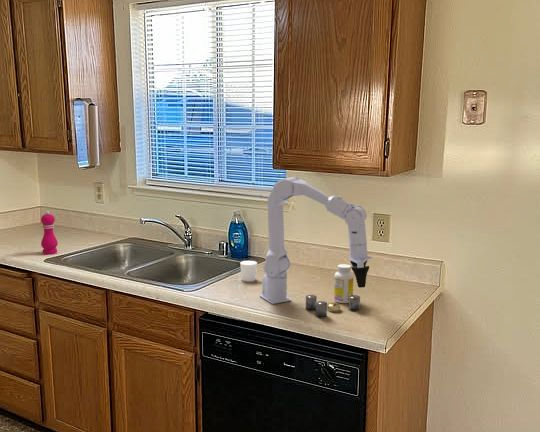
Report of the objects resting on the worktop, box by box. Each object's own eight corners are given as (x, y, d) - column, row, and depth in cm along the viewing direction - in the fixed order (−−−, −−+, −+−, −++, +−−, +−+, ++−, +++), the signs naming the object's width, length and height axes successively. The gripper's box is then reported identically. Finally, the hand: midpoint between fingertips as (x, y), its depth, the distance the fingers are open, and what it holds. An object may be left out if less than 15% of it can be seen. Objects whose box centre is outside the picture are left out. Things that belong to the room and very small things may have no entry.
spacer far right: (313, 315, 181) (314, 302, 180) (322, 313, 183) (323, 300, 182) (319, 318, 178) (320, 305, 177) (329, 316, 180) (329, 303, 179)
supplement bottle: (350, 297, 199) (352, 263, 197) (354, 303, 192) (355, 268, 190) (332, 297, 199) (333, 263, 196) (335, 303, 192) (336, 268, 190)
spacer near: (303, 308, 187) (303, 295, 187) (312, 306, 189) (312, 294, 188) (309, 311, 184) (309, 298, 184) (318, 309, 186) (318, 297, 185)
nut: (324, 309, 187) (324, 303, 187) (334, 307, 189) (335, 301, 189) (331, 313, 184) (332, 307, 183) (342, 311, 186) (342, 305, 185)
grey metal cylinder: (346, 308, 188) (347, 296, 187) (355, 306, 189) (355, 294, 189) (353, 311, 185) (353, 299, 184) (361, 310, 186) (362, 297, 185)
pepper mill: (42, 255, 252) (39, 212, 248) (40, 252, 258) (37, 210, 254) (59, 253, 255) (56, 211, 252) (57, 250, 262) (54, 209, 258)
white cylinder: (236, 279, 220) (236, 262, 218) (249, 275, 224) (249, 259, 223) (247, 283, 215) (247, 265, 213) (260, 279, 219) (260, 262, 218)
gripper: (372, 247, 172) (375, 289, 174) (368, 238, 186) (371, 277, 188) (349, 248, 173) (352, 290, 175) (347, 240, 187) (350, 279, 189)
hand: (360, 284), depth 182 cm, fingers open, 7 cm apart
